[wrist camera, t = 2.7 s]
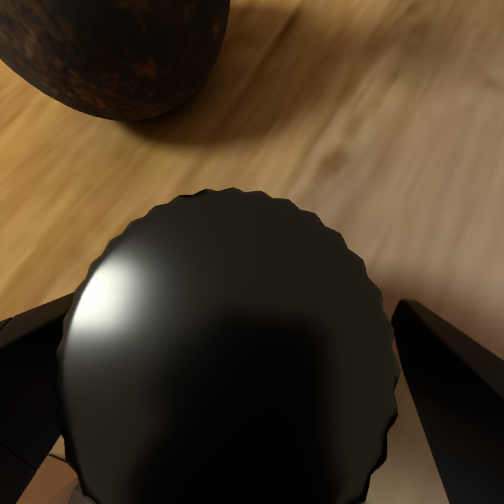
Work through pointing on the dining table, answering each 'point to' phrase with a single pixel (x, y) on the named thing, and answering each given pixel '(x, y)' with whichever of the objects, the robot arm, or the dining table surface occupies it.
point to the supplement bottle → (226, 360)
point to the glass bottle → (114, 51)
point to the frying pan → (53, 485)
